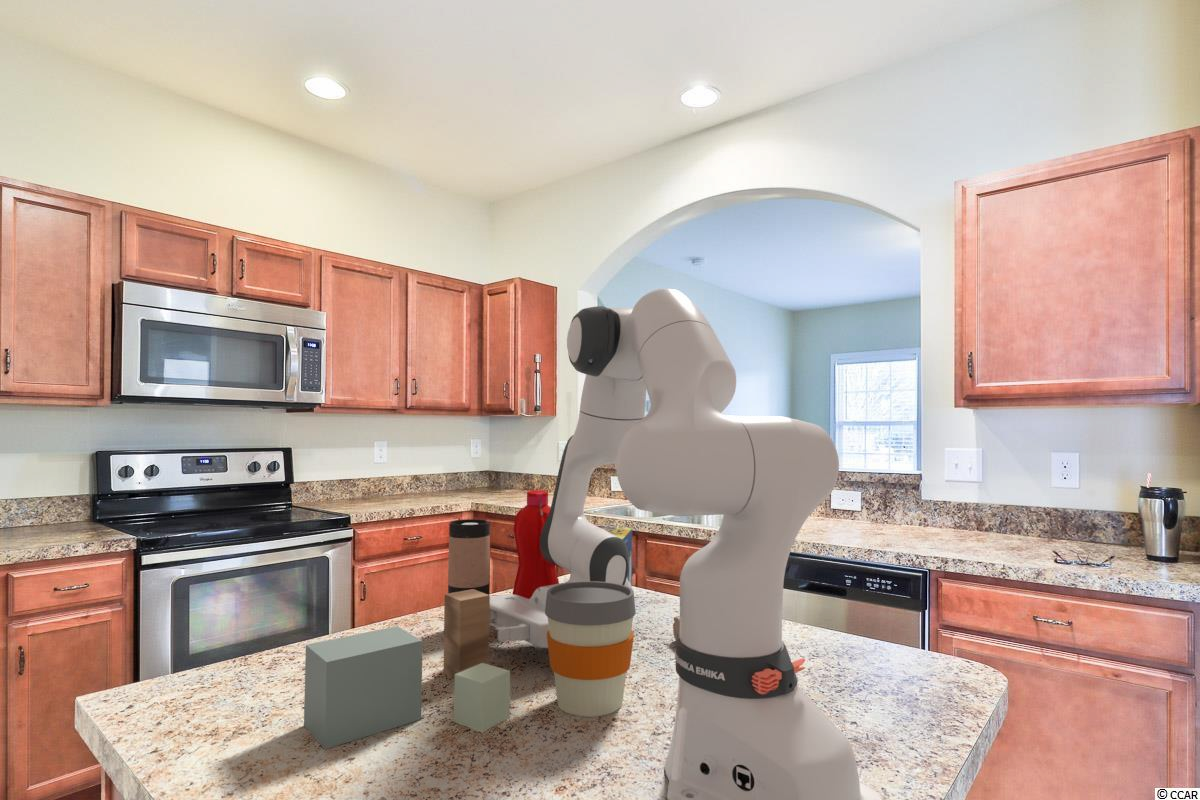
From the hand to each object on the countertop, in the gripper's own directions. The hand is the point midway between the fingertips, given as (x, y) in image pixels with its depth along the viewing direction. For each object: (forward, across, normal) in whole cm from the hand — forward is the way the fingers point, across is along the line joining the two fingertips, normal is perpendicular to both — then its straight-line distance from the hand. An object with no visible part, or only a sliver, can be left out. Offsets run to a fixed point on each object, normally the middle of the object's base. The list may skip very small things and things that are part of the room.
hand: (480, 628), depth 100 cm
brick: (-40, +16, +7) cm, 43 cm away
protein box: (-40, -16, +7) cm, 43 cm away
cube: (+8, +15, +7) cm, 18 cm away
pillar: (+2, 0, +6) cm, 7 cm away
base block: (+20, +6, +6) cm, 22 cm away
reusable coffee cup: (-6, +20, +7) cm, 22 cm away
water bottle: (-24, -18, +7) cm, 30 cm away
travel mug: (-8, -19, +7) cm, 22 cm away
